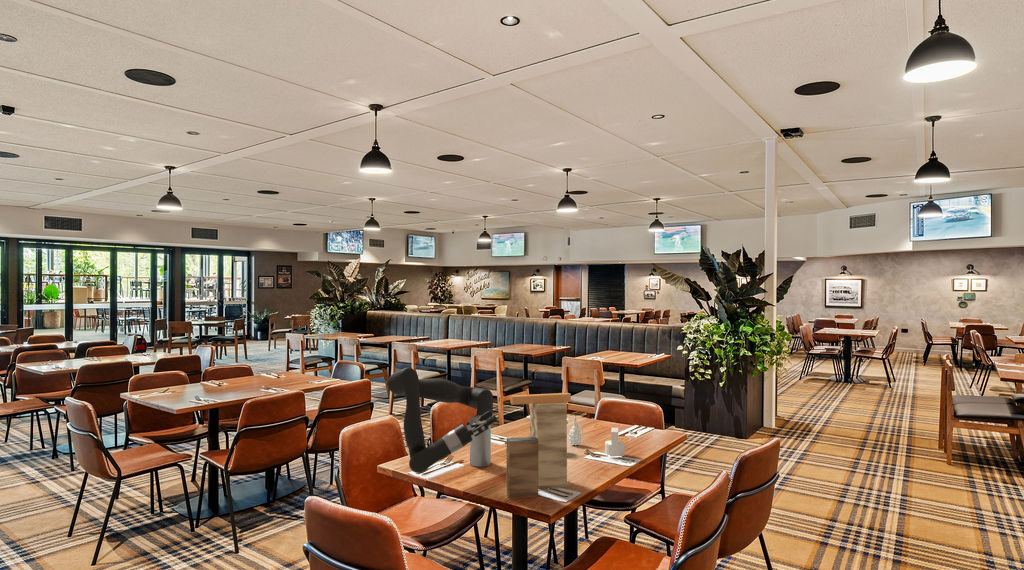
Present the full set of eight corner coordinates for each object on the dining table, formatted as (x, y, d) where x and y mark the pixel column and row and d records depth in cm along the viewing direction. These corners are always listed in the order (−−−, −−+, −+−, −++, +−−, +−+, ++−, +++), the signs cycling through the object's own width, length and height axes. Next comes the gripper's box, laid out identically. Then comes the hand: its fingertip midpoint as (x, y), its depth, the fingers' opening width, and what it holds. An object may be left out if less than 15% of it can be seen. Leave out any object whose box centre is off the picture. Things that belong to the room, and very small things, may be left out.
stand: (527, 480, 223) (526, 400, 224) (560, 477, 227) (559, 398, 228) (535, 490, 212) (535, 405, 212) (570, 486, 215) (570, 403, 216)
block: (506, 494, 207) (506, 438, 207) (534, 492, 209) (534, 436, 210) (509, 499, 202) (509, 441, 203) (538, 496, 205) (538, 439, 205)
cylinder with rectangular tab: (624, 459, 253) (624, 432, 253) (604, 457, 254) (604, 431, 255) (624, 453, 261) (624, 428, 262) (605, 452, 263) (605, 427, 263)
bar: (510, 403, 218) (510, 395, 218) (568, 400, 224) (568, 392, 224) (512, 404, 215) (512, 396, 215) (570, 401, 221) (570, 394, 221)
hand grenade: (567, 446, 274) (567, 417, 274) (570, 443, 280) (570, 415, 280) (582, 447, 271) (582, 419, 272) (585, 444, 277) (585, 416, 277)
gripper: (455, 434, 204) (492, 410, 207) (449, 425, 217) (485, 403, 221) (465, 451, 204) (502, 427, 208) (459, 442, 218) (494, 419, 222)
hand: (493, 415), depth 214 cm, fingers open, 8 cm apart
